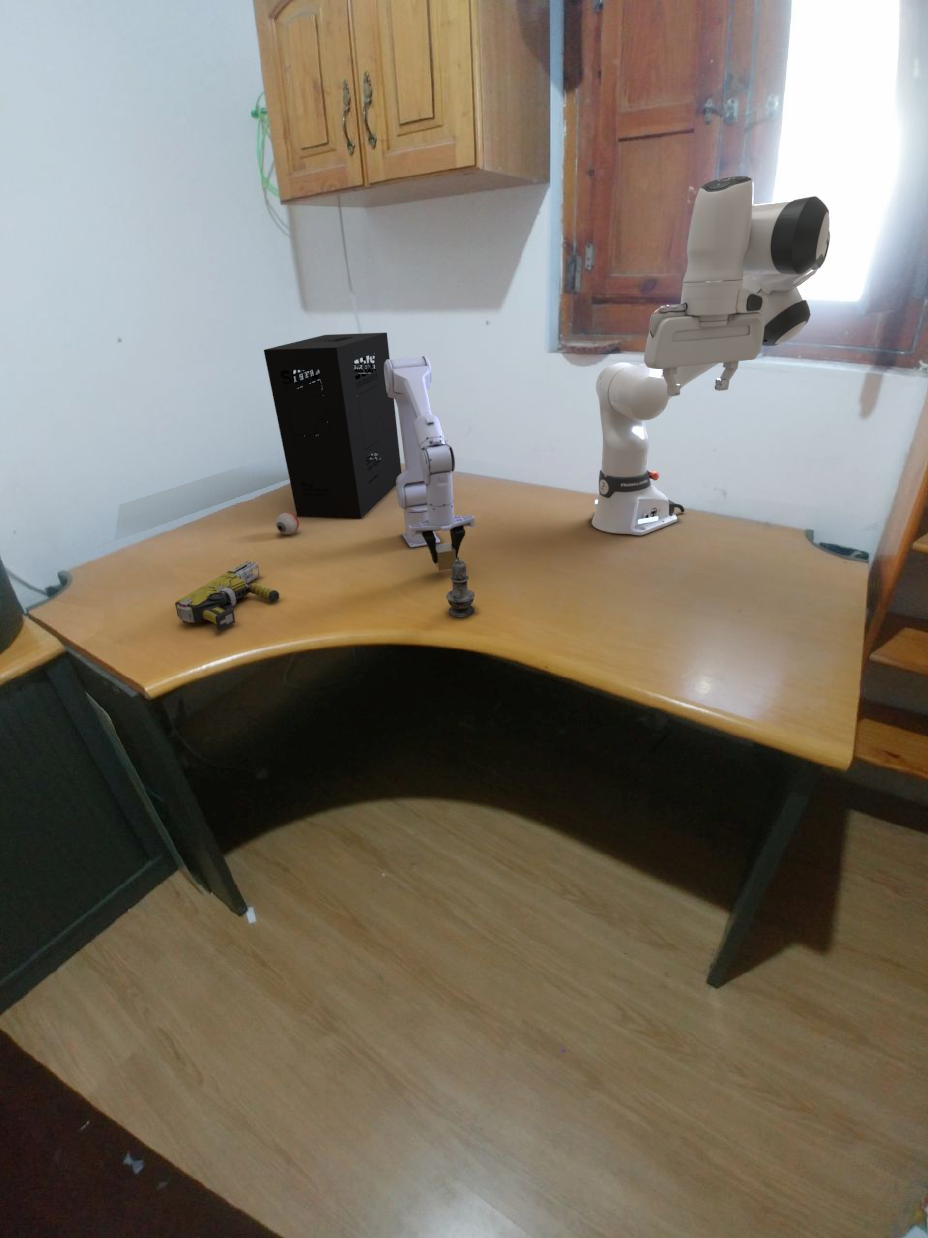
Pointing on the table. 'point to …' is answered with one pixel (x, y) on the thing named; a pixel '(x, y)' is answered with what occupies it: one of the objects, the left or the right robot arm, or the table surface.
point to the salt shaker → (460, 591)
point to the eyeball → (287, 523)
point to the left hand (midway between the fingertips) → (444, 559)
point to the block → (445, 556)
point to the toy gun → (222, 597)
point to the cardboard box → (335, 422)
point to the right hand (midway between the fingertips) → (697, 392)
